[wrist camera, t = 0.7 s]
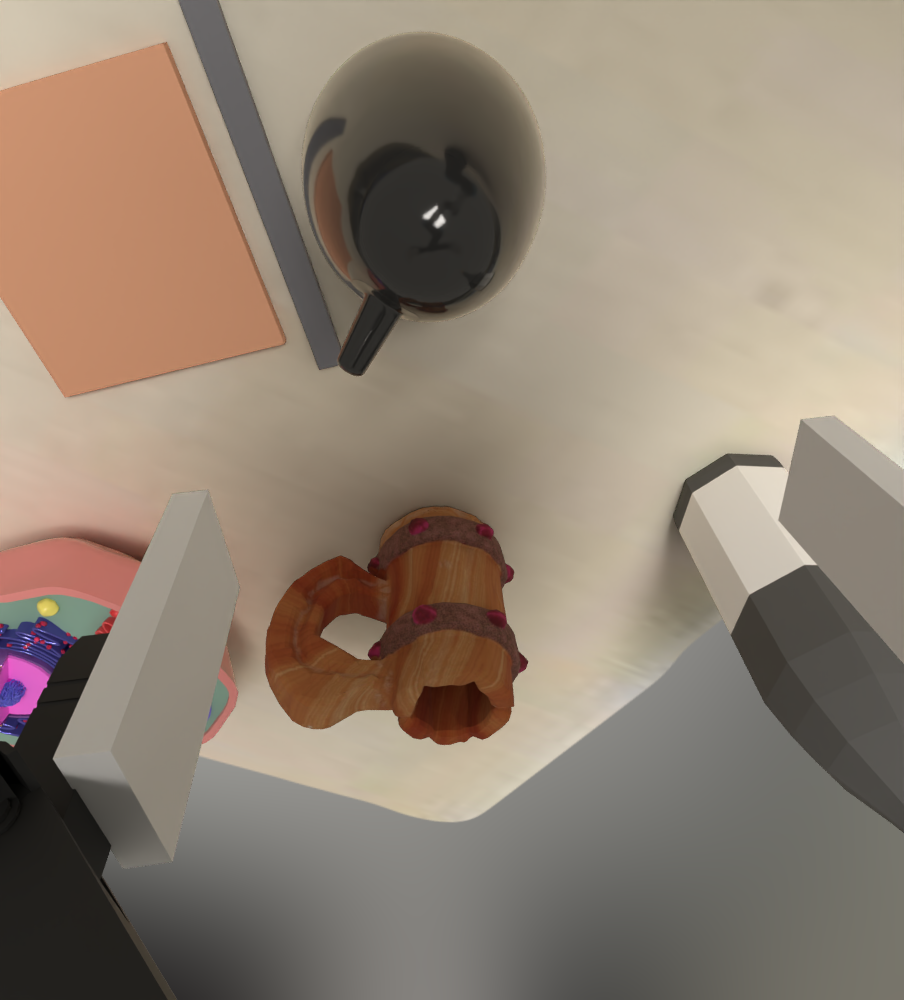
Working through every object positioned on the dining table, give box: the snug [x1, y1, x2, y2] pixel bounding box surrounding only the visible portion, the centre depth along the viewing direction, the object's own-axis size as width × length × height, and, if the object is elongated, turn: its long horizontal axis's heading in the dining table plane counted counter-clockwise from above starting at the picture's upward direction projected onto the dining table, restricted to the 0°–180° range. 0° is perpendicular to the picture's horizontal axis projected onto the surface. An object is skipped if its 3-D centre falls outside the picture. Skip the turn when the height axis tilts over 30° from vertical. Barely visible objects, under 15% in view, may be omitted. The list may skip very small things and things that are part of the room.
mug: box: [265, 506, 528, 745], centre depth 40 cm, size 15×8×15 cm, turn 79°
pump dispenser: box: [302, 32, 546, 376], centre depth 27 cm, size 10×10×15 cm
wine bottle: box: [674, 454, 904, 833], centre depth 34 cm, size 8×8×30 cm
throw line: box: [179, 0, 341, 370], centre depth 33 cm, size 2×18×1 cm, turn 13°
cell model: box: [0, 538, 238, 747], centre depth 44 cm, size 17×20×11 cm
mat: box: [0, 42, 286, 397], centre depth 34 cm, size 13×14×1 cm
